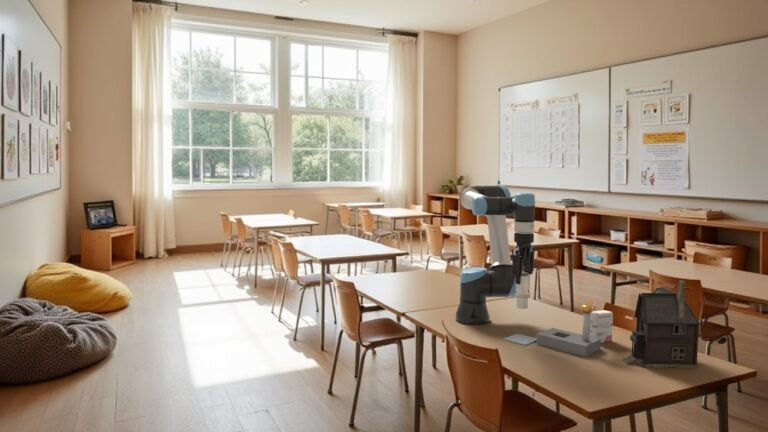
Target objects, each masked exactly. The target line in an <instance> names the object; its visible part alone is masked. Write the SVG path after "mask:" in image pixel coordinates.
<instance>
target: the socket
mask: <svg viewBox="0 0 768 432" xmlns="http://www.w3.org/2000/svg"><path fill="white" fill-rule="evenodd" d="M582 316H583V317H582V320H583V321H582V334H580V333H576V332H573V331H568V330H562V329H559V328H556V327H555V328H554V327H552V328H549V329H546V330H544V331H541V332H538V333H537V334H536V338H537V341H536V345H540V346H544V347H546V346H547V348H550V347H551V349H553V350H557V351H558V350H559V351H562V352H566V353H569V354H574V355H578V356H581V357H584V358H585V357H588V356H590V355H592V354H595V353H596V352H598V351H600V350H601V347H602V346H601V345H602V344H601V339H598V338H594V337H590V336H589V334H590V313H583V312H582Z"/></svg>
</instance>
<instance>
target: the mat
mask: <svg viewBox="0 0 768 432" xmlns="http://www.w3.org/2000/svg"><path fill="white" fill-rule="evenodd" d="M503 341H506V342H507V341H508V342H510V343H515V344H518V345H522V346H528V345H531V344H532V343H536V342H537V337H536V338H535V337H532V336H528V335H524V334H520V333H516V334H513V335H509V336H507V337H504V338H503Z"/></svg>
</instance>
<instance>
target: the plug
mask: <svg viewBox="0 0 768 432" xmlns="http://www.w3.org/2000/svg"><path fill="white" fill-rule="evenodd" d="M522 276H523V292H522V293H520V292H517V293H515V296H514V297H515V298H516V308H517V309H521V310H524V309H525V310H526V309H528V308H529V307H528V306H529V299H530V298H531V294H530V293H529V291H528V276H529V273H528V272H524V271H522Z"/></svg>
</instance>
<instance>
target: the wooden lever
mask: <svg viewBox="0 0 768 432" xmlns="http://www.w3.org/2000/svg"><path fill="white" fill-rule="evenodd" d="M597 300H598V299H596V298H591V299H590V300H589V301H588V302H587V303H586V304H581V312H582V314H583V313H592V312H593V311H597Z"/></svg>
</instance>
